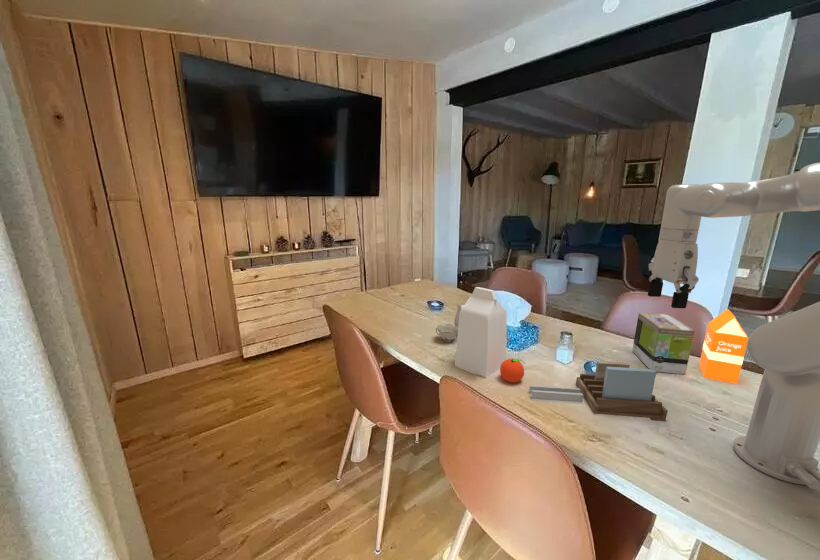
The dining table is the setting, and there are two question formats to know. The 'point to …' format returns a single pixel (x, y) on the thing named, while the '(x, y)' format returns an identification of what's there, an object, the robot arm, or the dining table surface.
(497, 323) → the milk
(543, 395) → the stand
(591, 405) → the rack
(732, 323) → the orange juice
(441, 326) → the chinaware
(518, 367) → the clementine
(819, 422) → the robot arm
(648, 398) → the grey upright panel
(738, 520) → the dining table surface
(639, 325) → the tea box
